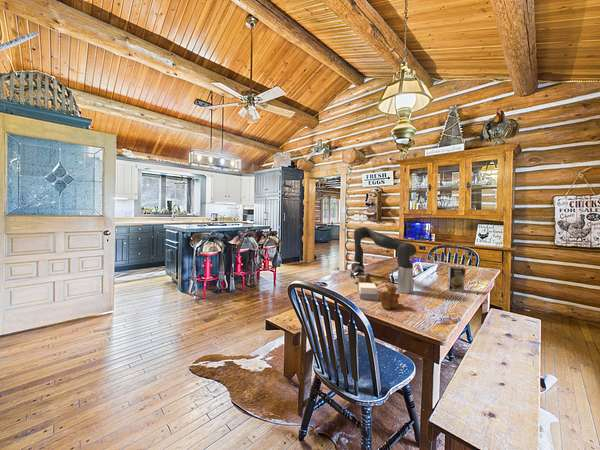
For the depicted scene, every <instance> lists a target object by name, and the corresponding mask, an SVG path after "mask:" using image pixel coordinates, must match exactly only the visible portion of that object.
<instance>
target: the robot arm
mask: <svg viewBox="0 0 600 450" xmlns="http://www.w3.org/2000/svg"><path fill="white" fill-rule="evenodd" d="M353 238H354V239H353V240H354V241H353V242H354V258H353V260H354V261H355V262H353V263H352V264H351V266H350V267H351V272H350V278H352V279H354V280H356V278H357V279H358V275H363V276H366V281H367V280H368V279H370V278H371V275H370V274H371V273H369V272H367V273H365V265H364V250H363V247H362V245H361V244H362V243H361V242H362V240H363V239H369V240H372V241H373V243H374V244H375V245H376V246H379V247H381V248H384V249H388V250H395V251H396V258H397V259H396V261H397V262H396V263H397V264H398V266H397V268H398V269H397V286H396V288H398V289H397V290H399V291H397V290H396V291H397V292H398V293H399V294H413V292H414V279H413V270H414V264H413V262H412V261H410V260H411V259H410V257H413V256H415V255H416V253H417V252H418V251H417V248H416V246H415V245H414V244H413V243H409V242H407V241H402V240H399V239H396V238H394V237H392V236H389V235H386V234H384V233H381V232H377V231H375V230H372V229H370V228H368V227H366V226H361V227H357V228H355V229H354V232H353ZM352 271H353V272H352Z"/></svg>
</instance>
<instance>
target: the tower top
mask: <svg viewBox="0 0 600 450" xmlns="http://www.w3.org/2000/svg"><path fill="white" fill-rule="evenodd" d="M359 291H360V294H376V295H377V293H378V288H377V286H376V284H375V283H373V282H366V283H359Z"/></svg>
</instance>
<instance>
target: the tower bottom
mask: <svg viewBox="0 0 600 450" xmlns="http://www.w3.org/2000/svg"><path fill="white" fill-rule="evenodd" d="M377 294H378V292H377ZM377 296H378V295H376V294H360V291H359V292H358V298H359V297H360V298H359V300H360V299H364V300H363V301H373V300H378V301H379V298H378V297H377Z"/></svg>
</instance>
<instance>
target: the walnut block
mask: <svg viewBox="0 0 600 450" xmlns="http://www.w3.org/2000/svg"><path fill="white" fill-rule="evenodd" d="M359 283H367V280H366V276H363V275H358V278H357V291H359Z"/></svg>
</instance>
